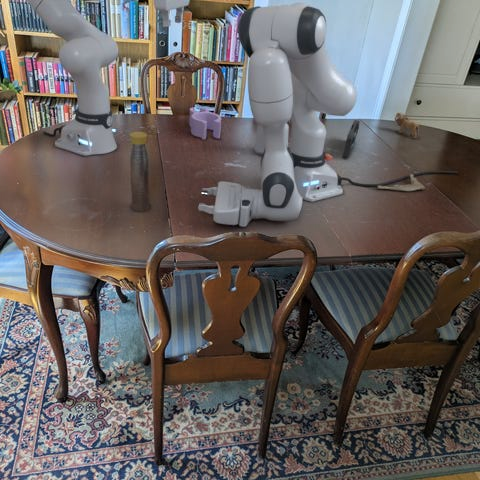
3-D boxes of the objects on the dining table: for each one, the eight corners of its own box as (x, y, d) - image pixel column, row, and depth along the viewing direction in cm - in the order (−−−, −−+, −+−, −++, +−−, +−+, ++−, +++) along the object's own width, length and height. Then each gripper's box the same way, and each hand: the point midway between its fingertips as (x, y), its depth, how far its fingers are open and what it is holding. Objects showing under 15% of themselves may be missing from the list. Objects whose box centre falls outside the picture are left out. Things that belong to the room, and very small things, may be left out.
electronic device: (287, 153, 187) (299, 77, 171) (282, 160, 181) (294, 81, 165) (257, 147, 190) (266, 71, 174) (252, 153, 184) (260, 75, 167)
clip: (182, 123, 206) (183, 107, 202) (209, 122, 210) (210, 106, 207) (197, 140, 191) (197, 123, 187) (225, 138, 195) (226, 122, 191)
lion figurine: (389, 131, 223) (394, 112, 218) (394, 128, 227) (399, 110, 222) (418, 140, 216) (424, 121, 211) (422, 137, 219) (428, 119, 214)
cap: (146, 138, 132) (146, 131, 131) (148, 144, 128) (147, 137, 127) (129, 138, 131) (129, 131, 130) (131, 144, 127) (130, 137, 126)
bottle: (148, 202, 143) (147, 132, 131) (149, 210, 139) (148, 139, 127) (131, 203, 142) (128, 132, 130) (132, 211, 138) (130, 139, 126)
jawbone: (429, 189, 172) (431, 184, 171) (394, 201, 161) (396, 196, 160) (410, 177, 177) (412, 172, 176) (375, 189, 167) (376, 184, 165)
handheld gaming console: (349, 160, 187) (354, 136, 182) (342, 158, 188) (347, 134, 183) (355, 142, 206) (361, 119, 201) (349, 140, 207) (354, 118, 201)
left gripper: (176, -30, 144) (175, 19, 151) (148, -28, 127) (149, 27, 134) (195, -28, 143) (193, 21, 150) (170, -25, 126) (170, 30, 133)
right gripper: (248, 178, 146) (204, 174, 145) (247, 210, 128) (196, 205, 128) (246, 196, 149) (203, 192, 149) (244, 230, 132) (196, 225, 131)
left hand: (172, 24), depth 142 cm, fingers open, 8 cm apart
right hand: (200, 198), depth 138 cm, fingers open, 8 cm apart
